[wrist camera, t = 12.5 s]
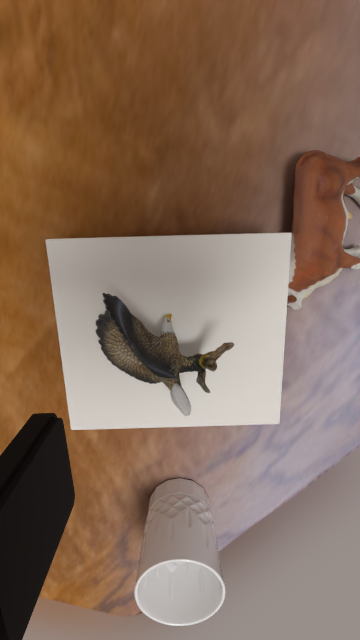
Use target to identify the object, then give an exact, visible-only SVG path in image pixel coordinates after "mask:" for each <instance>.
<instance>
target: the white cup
mask: <svg viewBox="0 0 360 640" xmlns="http://www.w3.org/2000/svg"><path fill="white" fill-rule="evenodd" d="M224 598H225V585H224V579H223V574H222V568H221V563H220V556H219V551H218V545H217V539H216V534H215V530H214V524H213V520H212V516H211V513H210V507H209V500H208V497H207V495H206V493H205V491H204V489H203V488H202V487H201V486H200V485H198V484H197V483H195V482H194V481H192V480H187V479H182V478H177V479H172V480H167V481H165V482H163V483H162V484H160V485H159V486H157V487H156V489H155V490H154V492H153V494H152V495H151V497H150V503H149V510H148V516H147V519H146V523H145V529H144V535H143V540H142V546H141V553H140V560H139V566H138V572H137V579H136V585H135V600H136V603H137V605H138V606H139V608H140V609H141V611H142V612H143V613H144V614H145V615H147V616H148V617H149V618H151V619H153V620H155V621H157V622H159V623H162V624H166V625H172V626H186V625H192V624H196V623H199V622H202V621H204V620H206V619H208V618H209V617H211V616H212V615H214V613H216V612H217V611H218V610H219V608H220V607H221V605H222V604H223V601H224Z"/></svg>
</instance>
